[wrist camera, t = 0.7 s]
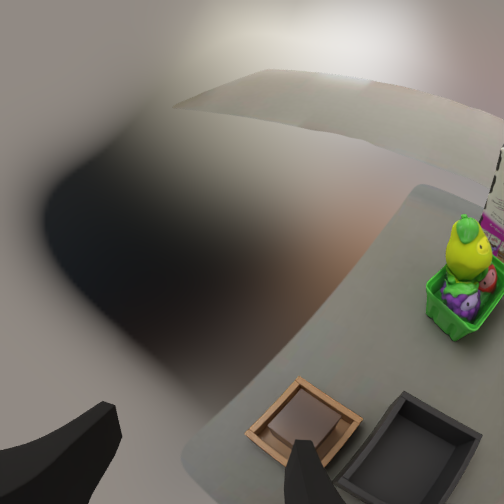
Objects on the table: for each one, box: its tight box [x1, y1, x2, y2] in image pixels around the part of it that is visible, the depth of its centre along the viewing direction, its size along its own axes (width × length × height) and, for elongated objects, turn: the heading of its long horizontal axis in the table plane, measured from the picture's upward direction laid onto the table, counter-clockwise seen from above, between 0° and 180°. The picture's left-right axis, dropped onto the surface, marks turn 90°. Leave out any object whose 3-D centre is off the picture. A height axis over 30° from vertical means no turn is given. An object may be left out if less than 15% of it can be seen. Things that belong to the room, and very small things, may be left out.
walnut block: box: [267, 389, 342, 450], centre depth 21 cm, size 4×4×5 cm
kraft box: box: [244, 376, 363, 467], centre depth 22 cm, size 7×7×2 cm
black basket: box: [332, 391, 483, 504], centre depth 17 cm, size 9×9×4 cm
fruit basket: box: [426, 214, 504, 341], centre depth 25 cm, size 11×9×11 cm
